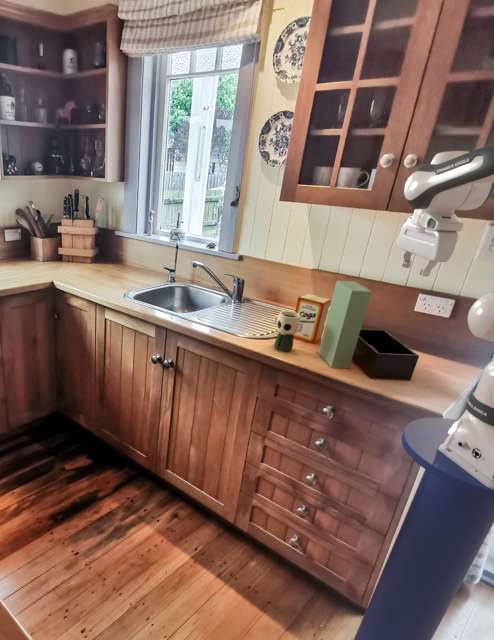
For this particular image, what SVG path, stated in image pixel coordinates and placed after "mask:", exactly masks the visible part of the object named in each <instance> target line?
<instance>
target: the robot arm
mask: <svg viewBox="0 0 494 640" xmlns="http://www.w3.org/2000/svg"><path fill="white" fill-rule="evenodd" d="M403 185H404V186H403V190H402V191H403V197H404V199H405V201H406V203H407V204H408V206H409V207H410V208H411V209H413V210H414V211H413V214H412V215H411V216H410V217H408V218H407V220H406V222H404V224H403V225H402V227H401V230H400V232H399V234H398V237H397V240H396V248H398V249H400V250H402V254H401V256H402V262H401V268H405V269H410V268H411V265H412V262H413V261H411V256H412V255H416V256H419V257H421V258H423V259H426V260H425V265H424V267H423V268H420V271H419V275H420V276H422V277H429V276H430V274H431V271H432V270H433V269H434V268H435V267H436V266H437V264H438V263H447V262H449V260H450V259H451V258H452V256H453V254H454V252H455V249H456V246H457V242H458V239H459V233H458V232H461V231H462V230H463V227H464V222H463V221H462V219H461V220H460V218H459V217H458V216H457V215H456V214H455V211H472V210H477V209H479V208H481V207H483V206H484V205H485V204H486V203H487V202H488V200H489V199H490V198H491V197H492V195H493V193H494V143H492V144H488V145H485V146H483V147H479V148H477V149H474V150H471V151H468V150H464V149H452V150H443V151H440V152H439V153H436V154H435V155H434V156H433V158H432V159H431V162H430V163H423V164H421V165H420V166H418V167H417V168H416V169H415V170H413V171H412V173H410V174H409V176H408V177H407V178H406V181H405V183H404V184H403ZM467 326H468V328H469V331H470V332H471V334H472V335H473V336H474V337H475V338H479V339H482V340H484V341H488V342H491V343H494V292H490V293H485V294H483V295H482V296H480V297H479V298H478V299H476V301H474V302H473V304H472V305H471V307H470V309H469V310H468V315H467ZM457 420H458V421H457V422H456V423H455V424H454V425H453V426H452V428H451V429H450V430H449V432H448V433H450V434H449V436H448V437H447V438H446V439H445V440H444V443H443V444H441V445H440V447H439V448H438V449H439V451H440V452H442V453H443V454H444V455H446V456H447V457H448V458H450V459H451V460H452V461H454V462H455V463H456V464H457V465H459V466H460V467H461V468H463V469H464V470H465V471H467V472H468V473H469V474H471V475H472V476H473V477H475V478H476V479H477V480H478V481H480V482H481V483H482V484H484V485H485V486H486V487H488V488H490V489H493V490H494V359H493V360H492V361H490V362H489V363H488V364H487V365H486V366H485V368H484V369H483V371H482V374H481V376H480V379H479V380H478V383H477V385H476V387H475V390H474V391H473V392H471V394H470V396H469V397H468V398H467V402H466V404H465V411H464V412H463V414H461V416H460V417H459V418H458V419H457Z"/></svg>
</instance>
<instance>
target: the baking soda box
mask: <svg viewBox="0 0 494 640" xmlns="http://www.w3.org/2000/svg"><path fill="white" fill-rule="evenodd" d="M331 302H332V299H331V298H326V297H321V296H318V295H314V294H309V293H304V294H302V295H300V296H298V297H297V302H296V305H295V311H294V312H295V313H298V314H300V315H301V318H300V323H302V324H303V328H302V331H301V332H298V331H297V333H295V334H293V339H295V340H300V341H303V342H306V343H310V344H313V345H315V344H316V343H319V342H320V341H322V337H323V333H324V329H325V328H324V325H325V321H326V317H327V313H328V309H329V307H330V305H331ZM299 328H300V325H299V327H298V329H299Z"/></svg>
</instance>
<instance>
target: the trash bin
mask: <svg viewBox="0 0 494 640" xmlns="http://www.w3.org/2000/svg"><path fill="white" fill-rule="evenodd" d="M370 345H372V346H373V347H374V348H375V349H376V350H375V349H374V348H373V347H371V346H370ZM419 358H420V355H419V354H418V353H416V352H415V351H414V350H412V349H411V348H409V346H407V345H406V344H404V343H403V342H401V341H400V340H399V339H397V338H396V337H394V336H393V335H392V334H391V333H389V332H388V331H387V330H385V329H370V328H369V329H368V328H361V330H360V333H359V337H358V340H357V344H356V347H355V350H354V354H353V357H352V361H351V362H353V363H354V364H355V365H356V366H357V367H358V368H359V369H360V370H361V371H362V372H363V373H364V374H365V375H366V376H367V377H368V378H369V379H370V380H371V379H373V380H392V381H411V380H412V378H413V374H414V372H415V369H416V367H417V363H418V361H419Z"/></svg>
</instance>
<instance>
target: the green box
mask: <svg viewBox="0 0 494 640" xmlns="http://www.w3.org/2000/svg"><path fill="white" fill-rule="evenodd" d="M371 296H372V290H370V289H368V288H367V287H365V286H364V285H362V284H360V283H358V282H357V281H355V280H336V282H335V286H334V290H333V294H332V298H331V301H330V305H329V307H330V309H329V313H328V317H327V321H326V325H325V328H324V329H323V333H322V337H321V340H320V344H319V348H318V354H319V355H320V357H321V358H322V359H323V360H324V361H325V362H326V363H327V364H328V365H329V367H330V368H339V369H350V367H351V363H352V362H353V361H352V357H353V354H354V350H355V347H356V344H357V340H358V337H359V333H360V330H361V329H362V326H363V323H364V319H365V317H366V316H365V315H366V313H367V309H368V306H369V302H370V299H371Z"/></svg>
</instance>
